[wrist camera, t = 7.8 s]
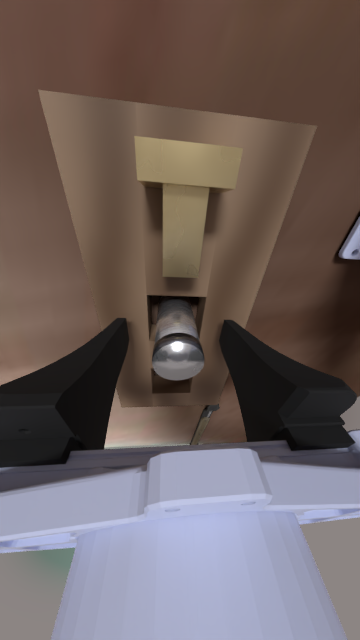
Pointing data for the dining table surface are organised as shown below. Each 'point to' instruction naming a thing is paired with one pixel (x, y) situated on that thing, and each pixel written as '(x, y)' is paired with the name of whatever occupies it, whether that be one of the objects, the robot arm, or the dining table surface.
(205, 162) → the key
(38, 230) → the dining table surface
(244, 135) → the board
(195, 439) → the tactical tomahawk
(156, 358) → the peg
